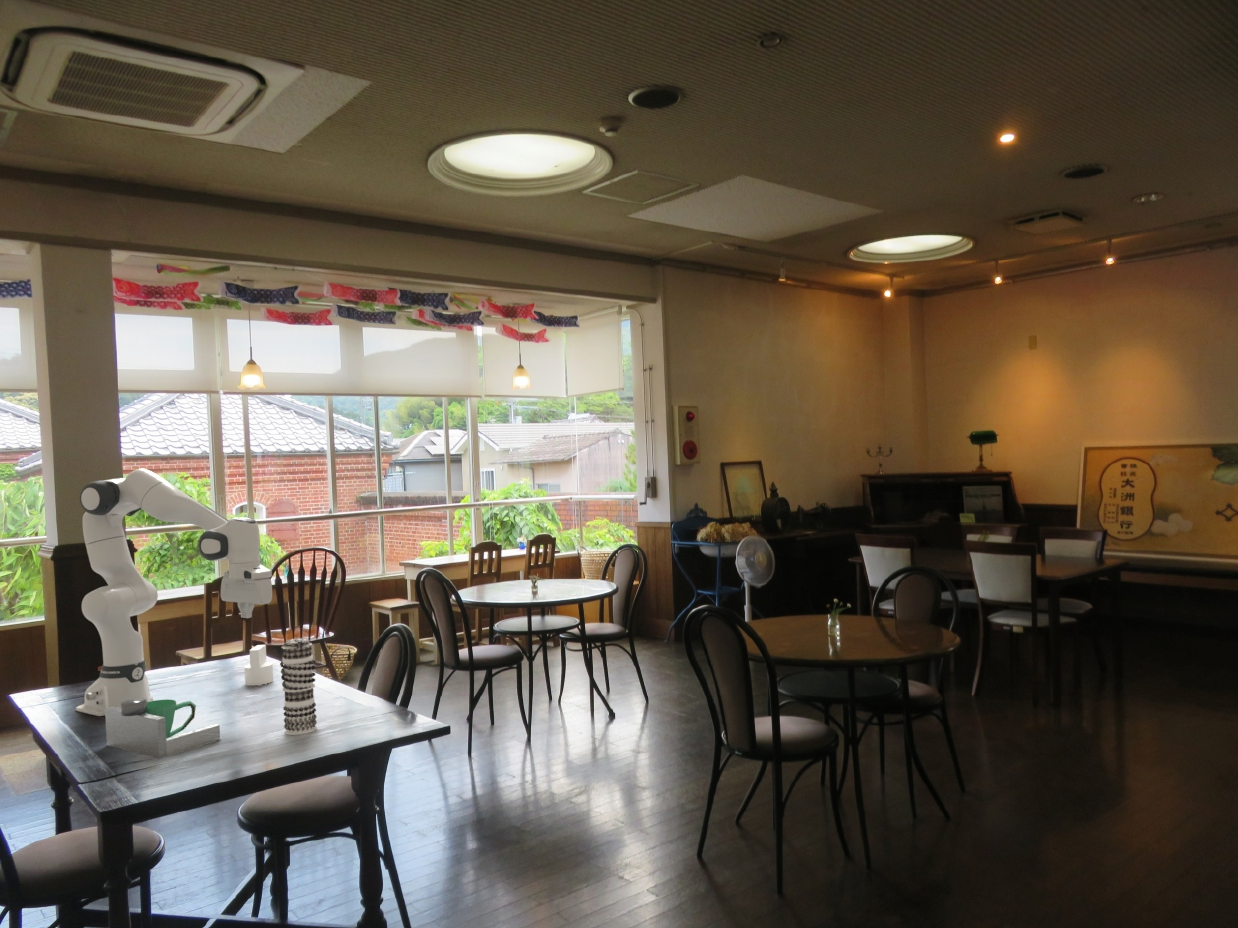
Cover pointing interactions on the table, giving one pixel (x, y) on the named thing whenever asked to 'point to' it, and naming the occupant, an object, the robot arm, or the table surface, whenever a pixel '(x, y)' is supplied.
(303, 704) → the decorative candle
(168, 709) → the mug
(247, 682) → the base with upright slab
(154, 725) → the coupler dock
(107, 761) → the table surface
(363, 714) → the table surface
